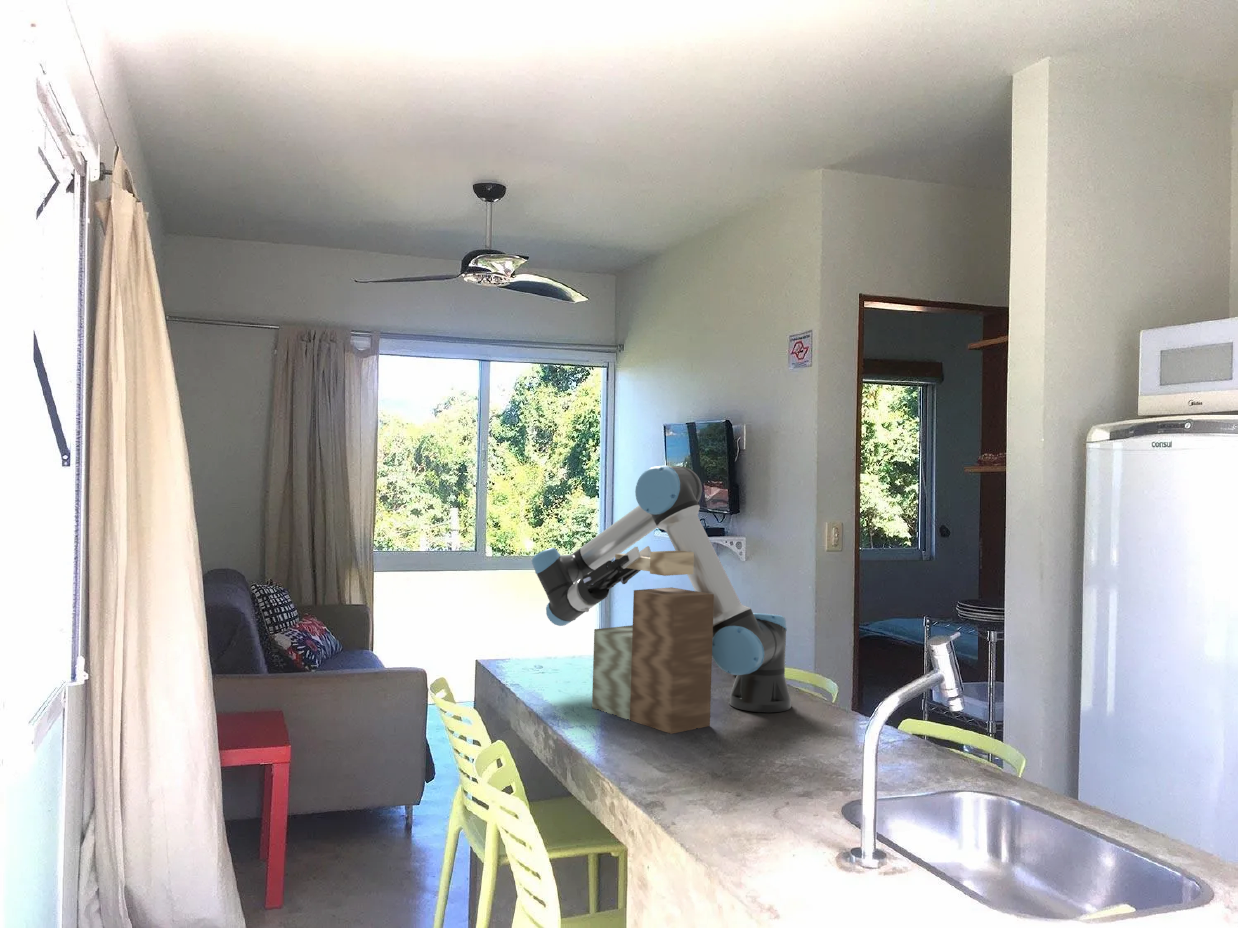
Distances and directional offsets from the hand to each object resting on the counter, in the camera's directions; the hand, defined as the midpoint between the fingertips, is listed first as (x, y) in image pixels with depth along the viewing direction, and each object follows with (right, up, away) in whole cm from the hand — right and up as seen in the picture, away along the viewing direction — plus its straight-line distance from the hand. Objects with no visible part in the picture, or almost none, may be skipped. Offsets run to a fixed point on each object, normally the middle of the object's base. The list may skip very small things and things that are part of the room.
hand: (643, 551), depth 237 cm
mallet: (+1, -4, -1) cm, 5 cm away
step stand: (+1, -38, -3) cm, 39 cm away
